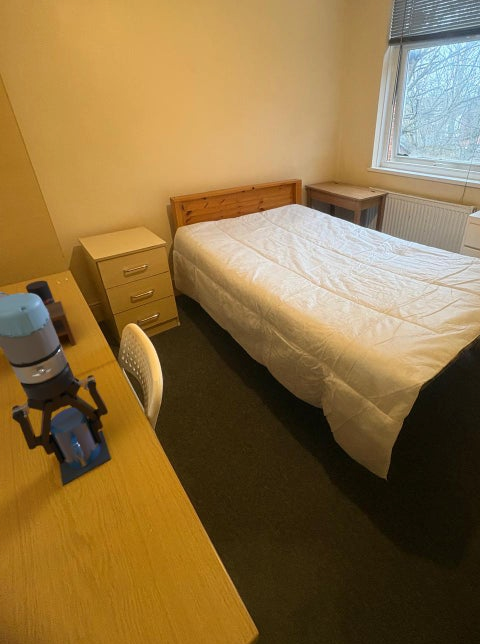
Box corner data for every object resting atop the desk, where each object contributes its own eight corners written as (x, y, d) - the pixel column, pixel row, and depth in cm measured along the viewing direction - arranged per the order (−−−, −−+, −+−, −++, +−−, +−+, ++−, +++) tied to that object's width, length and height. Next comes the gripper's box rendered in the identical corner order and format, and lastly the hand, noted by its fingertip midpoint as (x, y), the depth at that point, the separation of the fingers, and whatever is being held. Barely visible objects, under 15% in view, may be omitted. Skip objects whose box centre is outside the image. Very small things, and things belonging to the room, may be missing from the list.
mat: (57, 453, 72) (57, 452, 72) (102, 430, 78) (102, 429, 77) (63, 485, 66) (62, 484, 66) (111, 459, 71) (110, 458, 71)
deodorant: (57, 323, 115) (43, 287, 108) (38, 326, 113) (22, 290, 106) (63, 314, 120) (49, 279, 113) (45, 317, 118) (30, 281, 111)
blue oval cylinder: (65, 453, 72) (46, 417, 67) (97, 436, 76) (82, 401, 70) (70, 484, 66) (51, 447, 61) (105, 464, 70) (89, 428, 64)
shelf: (36, 341, 106) (22, 311, 101) (71, 329, 112) (60, 300, 106) (38, 357, 99) (24, 326, 94) (76, 344, 105) (64, 314, 100)
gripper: (-27, 411, 52) (26, 492, 62) (106, 359, 63) (132, 435, 74) (-25, 383, 57) (24, 462, 68) (98, 340, 68) (123, 413, 79)
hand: (80, 448), depth 71 cm, fingers closed on blue oval cylinder, 6 cm apart
